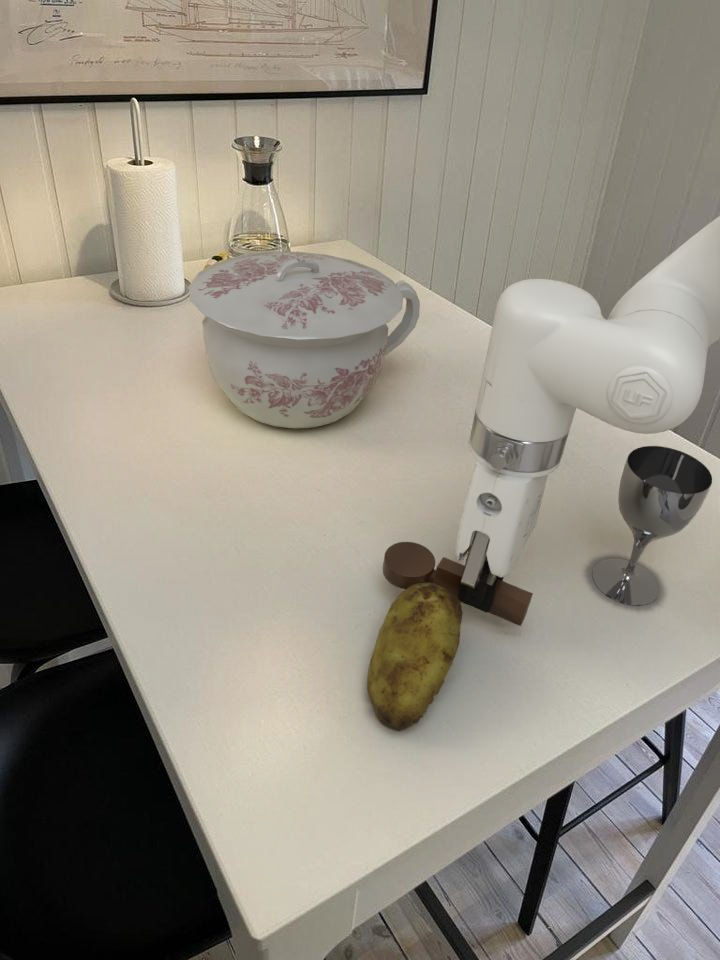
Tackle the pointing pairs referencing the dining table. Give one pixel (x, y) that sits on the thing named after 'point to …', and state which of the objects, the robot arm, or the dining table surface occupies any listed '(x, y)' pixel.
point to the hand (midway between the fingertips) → (478, 596)
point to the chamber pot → (299, 333)
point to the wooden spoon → (448, 578)
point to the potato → (413, 653)
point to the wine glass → (651, 515)
